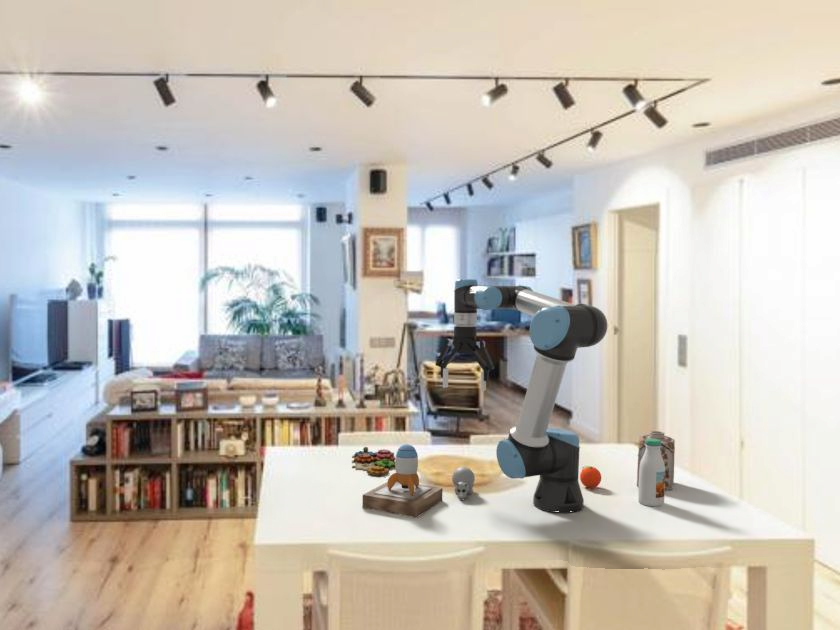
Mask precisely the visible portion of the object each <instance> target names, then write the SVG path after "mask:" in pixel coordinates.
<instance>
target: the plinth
mask: <svg viewBox="0 0 840 630" xmlns="http://www.w3.org/2000/svg"><path fill="white" fill-rule="evenodd" d="M387 482H388V481H386V482H385V483H383V484H381V485H379V486H377V487H375V488H373V489H371V490H369V491H368V492H365V493H363V494H362V507H361V508H362V509H367V510H372V511H378V512H384V513H387V514H394V515H399V514H401V515H400V516H405V515H406V517H410V516H412V517H413V518H416V517H417V518H418V517H420V516H421V515H423V514H424V513H426V512H427V511H428V510H430V509H433V507H435V506H436V505H438V504H439V503H441V502H442V501H443V487H439V486H433V485H428V484H427V485H425V484H420V483H419V486H418V487H416V486H415V485H414V495H413V496H411V495H410V491H409V489H404V488H402V485H401V484H400V483H398V482H396V483H395V484H394V486H393V487H392V488H391V490H389V489H388V486H387ZM422 513H423V514H422ZM419 515H420V516H419Z"/></svg>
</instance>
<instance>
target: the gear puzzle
mask: <svg viewBox="0 0 840 630" xmlns="http://www.w3.org/2000/svg"><path fill="white" fill-rule="evenodd" d="M394 456H395V452H392V451H391V450H390V449H384V448H383V449H379V450H378V451H375V452H373V451H369V447H367V446H364V447H363V449H362V450H360V451H357V452H356V451H355V453H354V455H352V456H351V458H352V459H353V460H351V463H352V464H354V465H352V466H351V468H352V469H355V470H356V471H363V472H366V474H370V475H372V476H373V475H375V476H379V475H382V476H385V475H387V474H390V470H389V469H395V459H396V457H394ZM354 457H355V458H354ZM393 457H394V458H393ZM395 470H396V469H395Z"/></svg>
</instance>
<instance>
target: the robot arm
mask: <svg viewBox="0 0 840 630" xmlns="http://www.w3.org/2000/svg"><path fill="white" fill-rule="evenodd" d="M454 283H455V284H454V290H453V291H454V301H453V302H454V304H453V305H454V313H453V316H454V317H453V319H454V320H453V323H454V325H455V326H454V327H453V339H450V338H446V339H444V344H443V347H442V350H441V351H440V354H439V355H438V358H437V360H436V362H435V366H436V367H439V368H440V378H442V389H445V388H446V389H447V388H449V367H447V366H448V365H449V364H450V363H451V362H452V360H453V359H454V358H455V357H456V356H457V355H458V354H465V355H466V354H467V355H469V354H470V355H471V356H472V357H473V358H474V359H475V361H476V362H477V364H478V365H479V366H480V368H481V369H482V370H481V371H480V392H484V391H487V382H488V381H489V378H490V377H489V376H490V373H489V372H490V371H492V370H494V369H495V367H496V366H495V365H494V363H493V360H492V358H491V356H490V354H489V351H488V348H487V345H486V341H485V340H481V341H478V340H477V329H478V328H477V326H476V325H478V310H484V311H492V310H493V311H494V310H515V311H518V312H519V313H520V312H521V313H523V314H526V315H529V316H532V319H531V321H530V325H529V333H530V336H529V338H530V341H531V343H532V345H533V350H534V351H535V353H536V356H535V360H534V365H533V367H532V371H531V375H530V378H529V383H528V385H527V389H526V393H525V395H524V399H523V403H522V407H521V410H520V414H519V417H518V422H517V424H514V425H513V426H512V427H511V428H510V431H509V434H508V437H507V438H503V439H501V440H500V441H499V442H498V443H497V445H496V460H497V462H498V467H499V468H500V470H501V472H502V474H504V475H505V476H506V477H507V478H509V479H514V480H515V479H525V478H531V477H536V476H539V480H538V482H537V486H536V487H535V491H534V493H533V496H532V497H533V498H532V499H533V500H532V501H533V502H532V504H533V506H534V507H536V508H537V509H540V510H542V509H543V510H542V511H546V510H548V511H547V512H551V511H559V512H558V513H560V512H568V513H571V512H570V511H576V512H579V511H582V510H583V509H584V506H585V505H584V503H585V501H584V497H583V492H582V489H581V485H580V483H579V475H580V473H579V469H580V468H579V466H580V449H581V446H580V437H579V435H578V434H577V433H576V432H573V431H570V430H566V429H559V428H553V427H552V428H551V427H549V424H550V422H551V421H550V420H551V418H552V414H553V412H554V411H553V410H554V407H555V404H556V401H557V397H558V395H559V392H560V388H561V384H562V380H563V377H564V374H565V371H566V368H567V363H570V362H571V361H574V359H575V356H576V354H577V350H578V348H579V349H580V348H590V347H593V346H595V345H597V344H599V343H600V342H601V341H602V340H603V339H604V338H605V336H606V334H607V331H608V319H607V317H606V315H605V313H604V312H603V311H602V310H601V309H600V308H597V307H595V306H593V305H589V304H585V303H577V304H574V303H571V302H567V301H564V300H561V299H557V298H555V297H552V296H548V295H545V294H543V293H540V292H537V291H534V290H533V288H532V287H530V286H528V285H520V284H519V285H478V280H477V279H474V278H458V279H456V280H455V282H454ZM452 345H453V349H452V351H451V352H450V354H449V355H448V356H447V354H448V352H449V350H450V347H451V346H452ZM477 346H478V349H480V351H481V354H482V356H483V358H482V356H481V355H480V354H479V351H478V350H477ZM446 356H447V357H446ZM582 508H583V509H582ZM578 510H579V511H578Z"/></svg>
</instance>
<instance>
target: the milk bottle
mask: <svg viewBox="0 0 840 630" xmlns="http://www.w3.org/2000/svg"><path fill="white" fill-rule="evenodd" d="M645 444H646V445H645V446H646V450H645V453H644V455H643V457H642V459H641V462H640V468H639V487H638V495H637V496H638V497H637V500H638V503H640V505H644V506H647V507H662V506H664V504H665V493H666V492H665V491H666V490H665V464H664V461H663V458H662V456H661V453H660V447H661V440H659V439H654V438H649V439H646V440H645Z"/></svg>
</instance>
